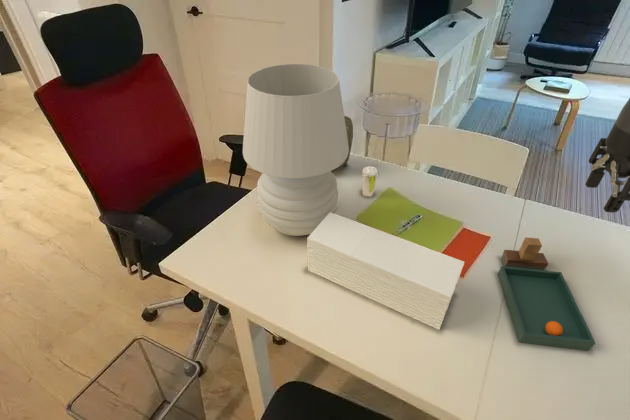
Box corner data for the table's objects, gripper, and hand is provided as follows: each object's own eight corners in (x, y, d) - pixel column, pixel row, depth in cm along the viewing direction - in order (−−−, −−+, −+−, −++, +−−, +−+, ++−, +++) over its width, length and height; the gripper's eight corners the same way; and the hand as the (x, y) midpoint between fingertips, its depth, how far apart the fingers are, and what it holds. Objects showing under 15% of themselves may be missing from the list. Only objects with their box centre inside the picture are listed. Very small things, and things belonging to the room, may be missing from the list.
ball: (558, 339, 75) (556, 324, 76) (567, 336, 72) (564, 320, 74) (543, 336, 75) (541, 321, 77) (551, 333, 73) (549, 318, 74)
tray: (556, 280, 87) (561, 272, 86) (588, 350, 73) (595, 343, 72) (497, 273, 89) (501, 265, 87) (518, 342, 75) (523, 334, 73)
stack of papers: (452, 294, 84) (464, 261, 77) (439, 330, 77) (451, 297, 70) (329, 243, 97) (330, 211, 90) (307, 270, 90) (307, 237, 83)
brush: (538, 261, 92) (551, 238, 87) (543, 272, 89) (557, 248, 84) (500, 257, 93) (511, 234, 88) (504, 268, 90) (515, 244, 85)
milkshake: (375, 200, 111) (379, 171, 105) (358, 196, 113) (361, 168, 107) (379, 191, 115) (383, 163, 108) (362, 188, 116) (365, 160, 110)
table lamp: (362, 218, 105) (376, 76, 80) (302, 270, 90) (297, 114, 65) (295, 185, 118) (290, 53, 92) (233, 225, 102) (207, 81, 77)
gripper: (689, 146, 61) (637, 222, 71) (642, 110, 72) (603, 180, 82) (639, 144, 61) (595, 219, 72) (600, 108, 72) (566, 178, 83)
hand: (599, 198), depth 77 cm, fingers open, 8 cm apart
